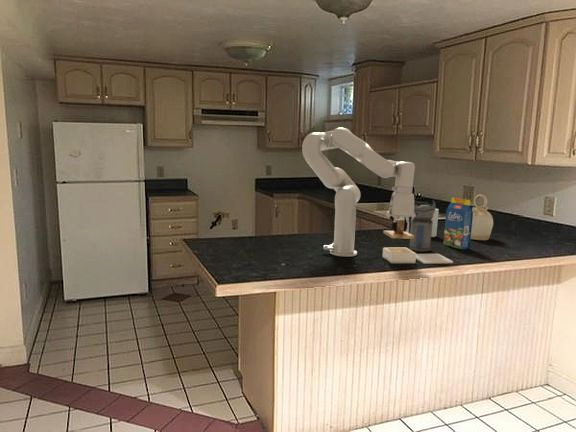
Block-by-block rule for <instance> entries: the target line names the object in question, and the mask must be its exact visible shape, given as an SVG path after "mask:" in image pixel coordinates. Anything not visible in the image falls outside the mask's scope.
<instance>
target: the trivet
mask: <svg viewBox="0 0 576 432" xmlns="http://www.w3.org/2000/svg"><path fill="white" fill-rule="evenodd" d="M416 260H417V261H418V262H420V263H422V264H424V265H425V264H427V265H428V264H431V265H432V264H433V265H434V264H454V260H451V259H450V258H447V257H445V256H443V255H442V254H440V253H416Z"/></svg>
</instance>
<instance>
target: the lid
mask: <svg viewBox="0 0 576 432" xmlns="http://www.w3.org/2000/svg"><path fill="white" fill-rule="evenodd" d="M396 223H397V229H396V231H393V230H383V234H384V235H386V236H388V237H390V238H391V239H401V240H402V239H407V240H408V239H409V240H410V239H414V238H415V236H414V235H412V234H410V233H408V232H404V223H405V220H402V219H399V218H397V220H396Z"/></svg>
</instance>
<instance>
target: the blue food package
mask: <svg viewBox="0 0 576 432" xmlns="http://www.w3.org/2000/svg"><path fill="white" fill-rule="evenodd" d="M472 220H473V211H472V207H471V199H464V198H459V197H451V202H450V204H448V207H446V211H445V223H444V232H443V233H444V234H443V242H442V244H443V245H445V246H447V247H452V248H454V249H457V250H468V249H470V248H471V247H470V246H471V240H472V239H471V230H472Z"/></svg>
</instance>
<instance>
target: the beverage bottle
mask: <svg viewBox="0 0 576 432" xmlns="http://www.w3.org/2000/svg"><path fill="white" fill-rule="evenodd" d="M436 206H437V204H436V202H435V200H432V201H431V204H429V203H424V201H423V202H422V201H417V200H414V213H415V215H416V217H414V219H412V220H410V221H409V233H410V231H411V234H412V235H414V236H415V238H414V239H409V246H408V247H409V249H410V250H411V251H413V250H414V251H413V252H419V253H425V252H429V251H430V250H431V248H432V247H431V242H432V237H431V233H432V225H433V221H431V219H432V218H433V213H434V211H435V209H437V207H436Z"/></svg>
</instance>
